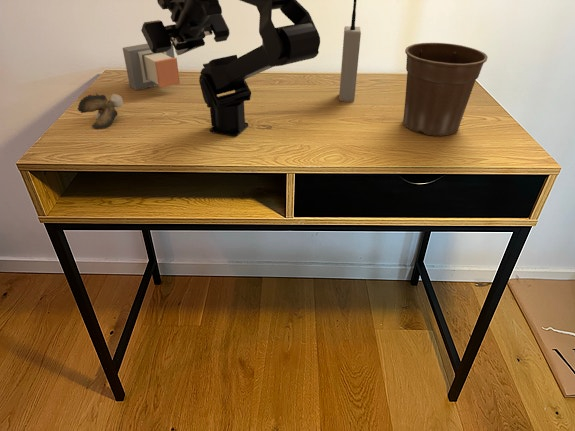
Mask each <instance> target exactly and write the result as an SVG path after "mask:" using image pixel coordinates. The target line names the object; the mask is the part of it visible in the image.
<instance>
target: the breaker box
mask: <svg viewBox="0 0 575 431" xmlns="http://www.w3.org/2000/svg"><path fill="white" fill-rule="evenodd" d="M171 45H172V46H171V49H169V50H168V51H166V52H161V53H163V54H165V55H167V56H169V57H171V58H174V57H175V51H174V50H175V48H174V46H173V44H172V42H171ZM122 52H123V58H124V63H125V68H126V73H127V78H128V84H129V87H130V86H131V87H130V88H132V89H133V88H134V89H133V90H135V91H140V90H139V89H141V90H144V89H143V88H145V89H148V88H147V87H150V86H154V85H158V84H156V83H155V82H153V81H151V80H150V79H148V78H146V77H145V71H144V65H143V59H142V55H143V54H149V53H153V52H151V50H150V48H149V45H148V43H147V42H146V43H142V44H141V43H140V44H136V45H130V46H129V45H128V46H124V47H122ZM154 87H155V86H154ZM150 88H151V87H150Z"/></svg>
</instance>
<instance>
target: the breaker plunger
mask: <svg viewBox="0 0 575 431" xmlns="http://www.w3.org/2000/svg"><path fill="white" fill-rule="evenodd" d="M142 59H143V65H144V71H145V77H146V78H148V79H150V80H151V81H153V82H155V83H156V84H158V85H159V86H158V87H159V89H161V88H166V87H170V86H175V85H180V84H181V83H180V74H179V66H178V65H179V64H178V58H177V57H175V56H174V58H171V57H169V56H167V55H165V54H163V53H156V54H155V53H149V54H143V55H142Z"/></svg>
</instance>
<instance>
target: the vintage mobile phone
mask: <svg viewBox="0 0 575 431" xmlns="http://www.w3.org/2000/svg"><path fill="white" fill-rule="evenodd" d="M352 7H353V8H352V14H351V23H350V26H347V25H345V26H344V29H343V31H344V32H343V40H342V41H343V42H342V56H341V69H340V79H339V80H340V82H339V92H338V93H339V94H338V95H339V96H338V98H339V99H338V100H339V102H351V103H352V102H353V103H354V102H355V98H356V88H357V76H358V67H359V59H360V58H359V55H360V46H361V38H362V37H361V35H362V32H361V27H360V26H356V18H357V16H356V14H357V12H356V11H357V0H353V6H352Z"/></svg>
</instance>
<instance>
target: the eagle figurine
mask: <svg viewBox="0 0 575 431" xmlns="http://www.w3.org/2000/svg"><path fill="white" fill-rule="evenodd" d="M123 102H124V101H123V98H122V96H121V95H119V94H116V93H113V94H111V95H110V98H109V100H108V98H107V96H106V95H105V94H100V95H99V94H98V93H95V95H94V94H93V95H92V94H88V95H85V97H83V98H82V99H80V101H79V103H78V104H77V110H78V112H80V113H81V114H83V113H84V114H85V113H92V112H93V113H94V112H96V111H97V113H96V114H95V121H94V123H93V124H92V125H91V128H92V129H94V130H97V131H98V130H103V129H106V128H109V127H110V126H112V124H113V123H114V121H115V119H116V117H117V116H118V114H119V113H118V110H116V109H115V108H121V107H122V106H123Z"/></svg>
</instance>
